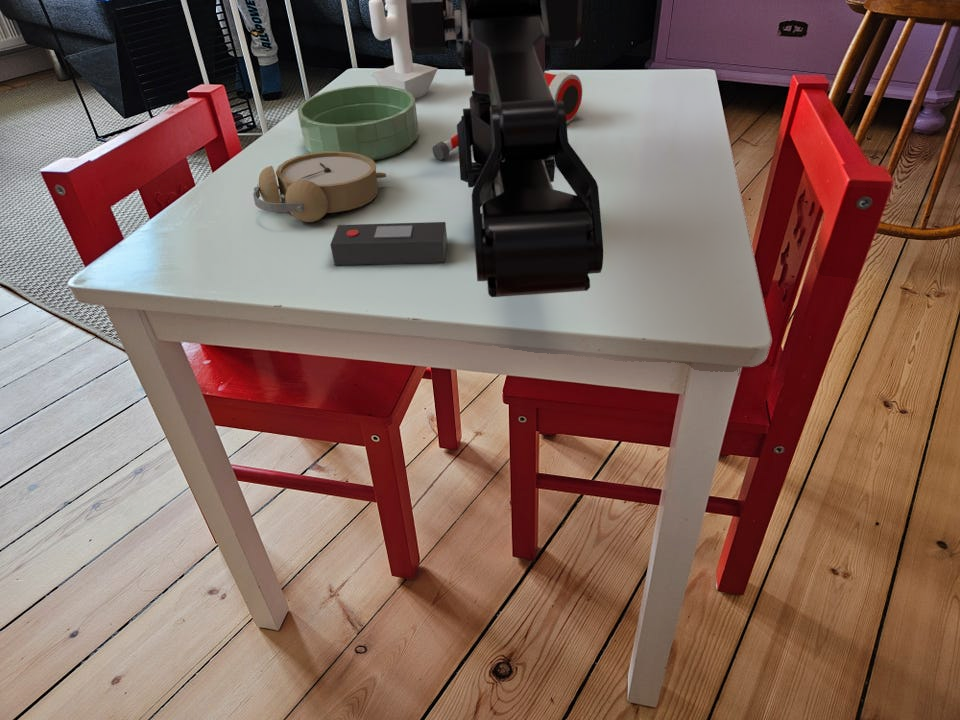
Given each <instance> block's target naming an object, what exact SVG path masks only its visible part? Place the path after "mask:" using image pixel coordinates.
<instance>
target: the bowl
mask: <svg viewBox="0 0 960 720" xmlns="http://www.w3.org/2000/svg"><path fill="white" fill-rule="evenodd" d="M296 112H297V117H298V120H299V125H300V130H301V134H302V139H303V144H304V148H305V150H306V151H308V153H317V152H332V151H340V152H351V153H356V154H360V155H364V156H366V157H368V158H370V159H372V160H373V161H374V162H375V161H379V160H382V159H386V158H389V157H392V156H395V155H398V154H400V153H401V152H403V151H405V150H406V149H408V148H409V147H410V146H411V145H412V144H413V143H414V142H415V141H416V140H417V139H418V136H419V135H418V134H419V132H420V131H419V123H418V113H417V104H416V99H415V98H414V97H413V95H412V94H411V93H409V92H407V91H405V90H403V89H400V88H395V87H391V86H379V85H378V84H377V85H376V84H369V85H366V84H365V85H353V86H346V87H339V88H335V89H330V90H327V91H323V92H321V93H318V94H316V95H313V96H311V97H309V98H308V99H306V100H304V101H302V103H300V105H299V107H297V111H296Z"/></svg>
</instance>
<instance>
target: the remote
mask: <svg viewBox="0 0 960 720" xmlns="http://www.w3.org/2000/svg"><path fill="white" fill-rule="evenodd" d="M447 234H448V233H447V224H446V221H435V222H434V221H431V222H393V223H389V222H388V223H357V224H356V223H355V224H338V225H337V226H336V229H335V232H334V235H333V237H332V239H331V241H330V249H331V254H332V259H333V264H334V266H358V265H359V266H361V265H400V264H403V265H404V264H438V263H441V264H443V263H445V262H446V254H447V246H448V235H447Z"/></svg>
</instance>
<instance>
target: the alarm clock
mask: <svg viewBox="0 0 960 720" xmlns="http://www.w3.org/2000/svg"><path fill="white" fill-rule="evenodd" d="M386 177H387V173H386V172H377V163H376V162H375V160H374V161H373V160H372V159H370V158H368V157H366V156H364V155H360V154H356V153H351V152H340V151H332V152H317V153H310V152H308V153H305V154H301V155H298V156H294V157H292V158H289V159H287V160H285V161H284V162H282V163H281V164H280V165H278V166H277V168H276V170H275V169H274V167H273V165H270V166H266V167H265V168H263V169H262V170H261V172H260V173H259V176H258V183H257V184H256V186H255V187H253V193H252V196H253V199H254V200H253V202H254V205H255V206H256V207H257V208H258V209H260V210H262V211H266V212H270V213H290V215H292V216H293V217H294V218H295V219H297V220H298V221H300V222H304V223H314V222H317V221H319V220H321V219H322V218H323V217H325V216H326V214H327V213H328V214H329V213H330V214H331V213H338V212H340V213H341V212H345V211H350V210H354V209H357V208H361V207H363V206H364V205H366V204H367V205H368V203H370V202H372V201H374V199H376V197H377V196H378V192H379V186H378V181H377V179H382V178H386ZM260 197H261V198H262V199H260Z"/></svg>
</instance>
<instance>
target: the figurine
mask: <svg viewBox="0 0 960 720" xmlns="http://www.w3.org/2000/svg"><path fill="white" fill-rule="evenodd" d="M384 3H385V5H384ZM368 10H369V16H370V22H371V23H370V24H371V30H372V33H373V35H374V37H375V39H376V40H378V41H386V40H389V39H390V41H391V49H392V58H393V64H392V65H389V66H387V67H384V68H382V69H379V70H376V71H374V72H371V73H370V75H371V77H372V78H373V79H374V81H375V83H376V84H377V85H379V86H391V87H395V88H400V89H403V90H405V91H407V92H409V93H411V94H412V95H413V97H414V98H415V100H416V99H418V98H420V97H423V96H426V95H427V94H428V92H429V90H430V87H431V85H432V83H433V80H434V79H435V77H436V74H437V71H438V69H439V68H438V67H433V66H430V65H424V64H421V63H420V64H419V63H416V62H413V52H412V51H411V50H410V43H409V31H408V20H407V8H406V0H384V1H383V0H369V1H368ZM385 11H387V13H386V14H385Z"/></svg>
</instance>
